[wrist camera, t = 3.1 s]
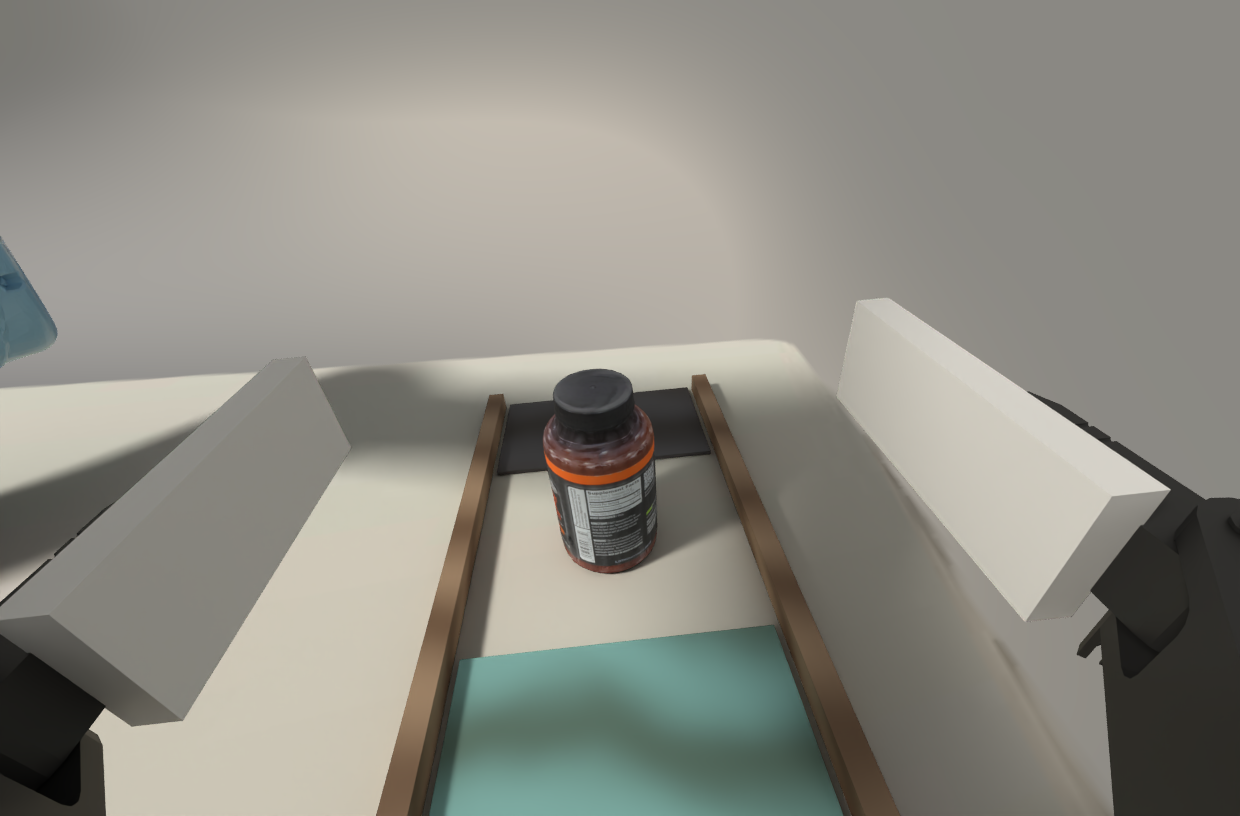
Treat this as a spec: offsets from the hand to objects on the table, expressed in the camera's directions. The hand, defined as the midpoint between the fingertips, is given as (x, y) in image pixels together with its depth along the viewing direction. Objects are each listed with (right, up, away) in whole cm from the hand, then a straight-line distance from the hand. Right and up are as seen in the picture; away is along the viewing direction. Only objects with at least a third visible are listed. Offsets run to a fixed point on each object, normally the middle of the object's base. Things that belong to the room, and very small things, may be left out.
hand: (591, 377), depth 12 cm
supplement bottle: (0, -9, +18) cm, 21 cm away
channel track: (0, -9, +18) cm, 20 cm away
